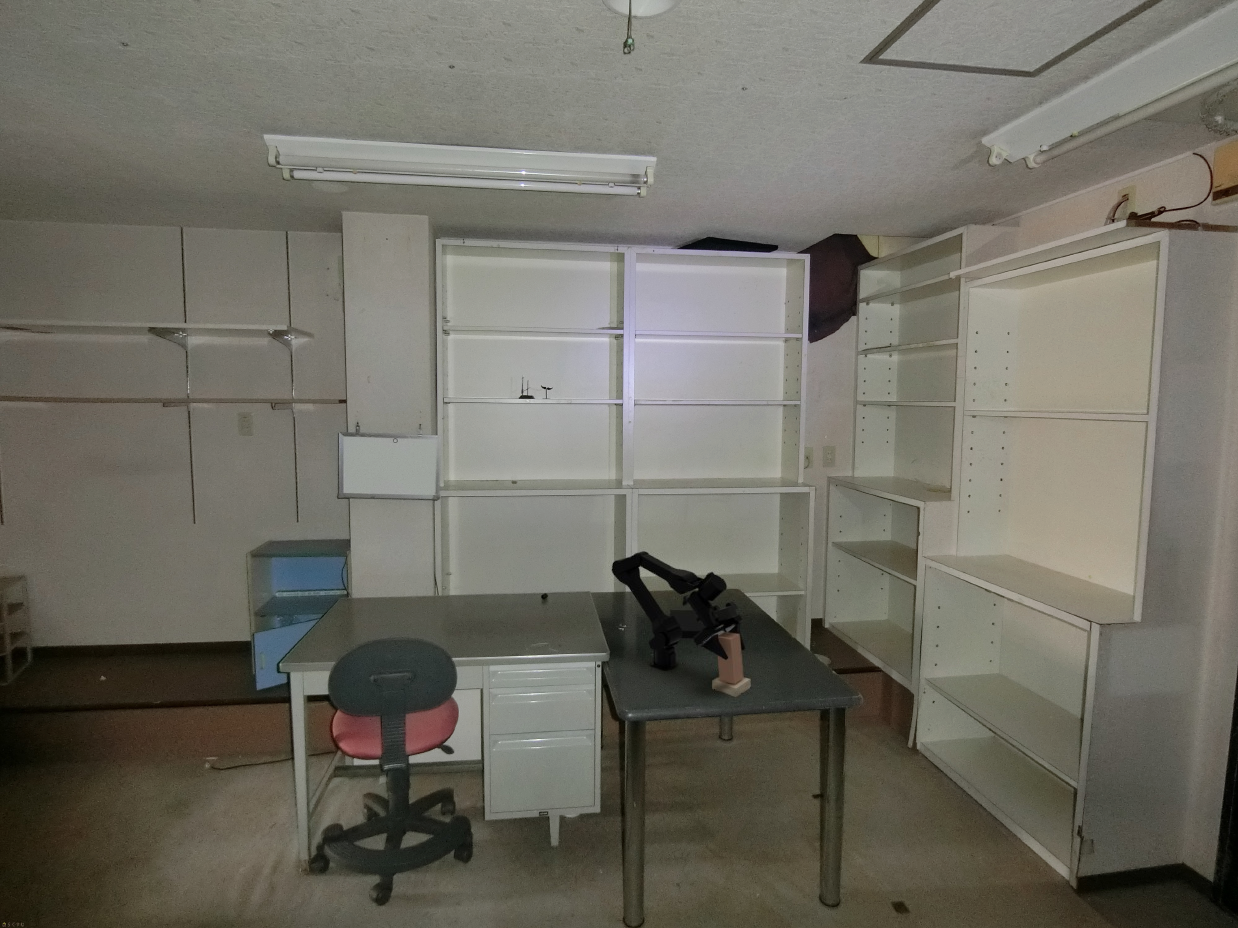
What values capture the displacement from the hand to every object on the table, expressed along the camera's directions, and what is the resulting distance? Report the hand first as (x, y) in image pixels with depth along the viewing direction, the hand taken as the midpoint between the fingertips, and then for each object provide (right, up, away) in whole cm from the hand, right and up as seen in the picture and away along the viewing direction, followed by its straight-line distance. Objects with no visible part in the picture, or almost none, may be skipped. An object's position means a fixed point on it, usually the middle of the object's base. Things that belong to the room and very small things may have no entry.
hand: (735, 654), depth 183 cm
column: (-1, -8, +1) cm, 8 cm away
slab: (-1, -11, +2) cm, 11 cm away
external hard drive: (-7, -6, +54) cm, 54 cm away
